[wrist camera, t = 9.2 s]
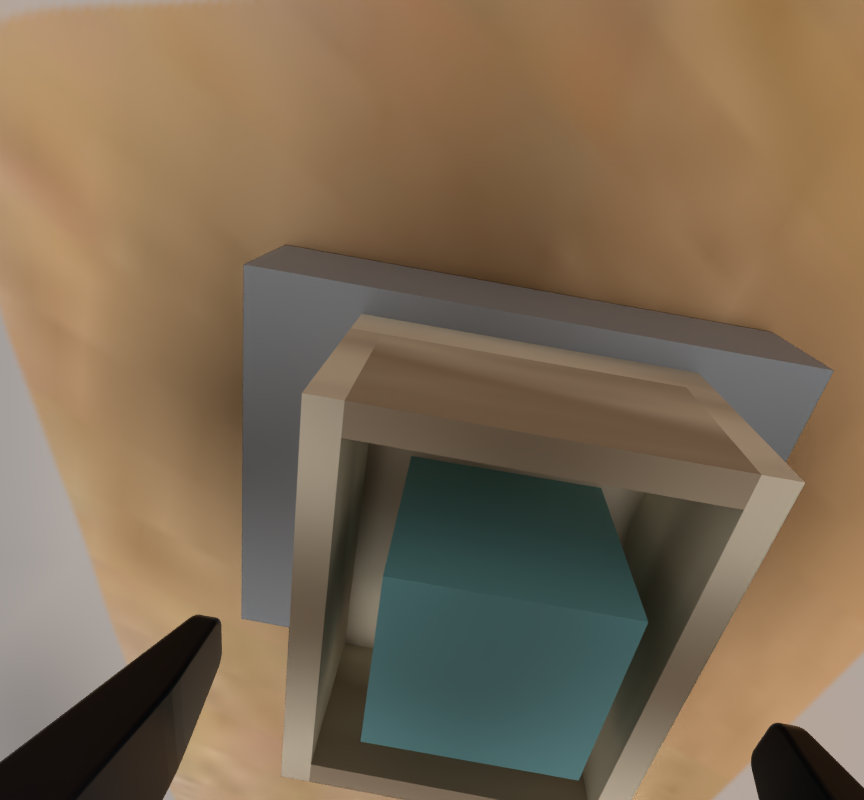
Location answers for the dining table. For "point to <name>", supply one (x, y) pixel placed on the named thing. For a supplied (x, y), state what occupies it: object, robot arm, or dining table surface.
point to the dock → (469, 312)
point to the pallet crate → (533, 456)
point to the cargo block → (500, 620)
